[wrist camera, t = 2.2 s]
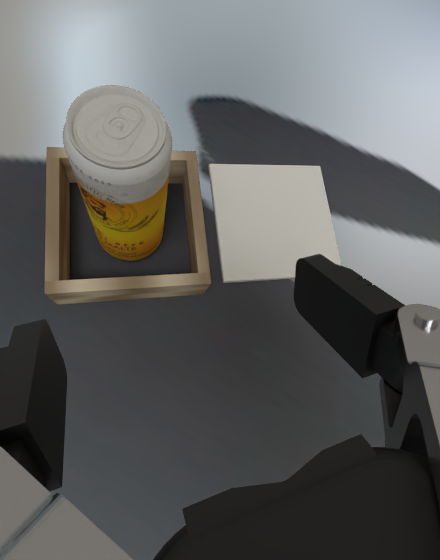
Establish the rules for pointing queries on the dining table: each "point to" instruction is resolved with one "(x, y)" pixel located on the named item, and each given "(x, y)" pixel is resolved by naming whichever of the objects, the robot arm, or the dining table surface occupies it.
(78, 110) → the beer can
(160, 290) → the crate
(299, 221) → the mat
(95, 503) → the dining table surface
